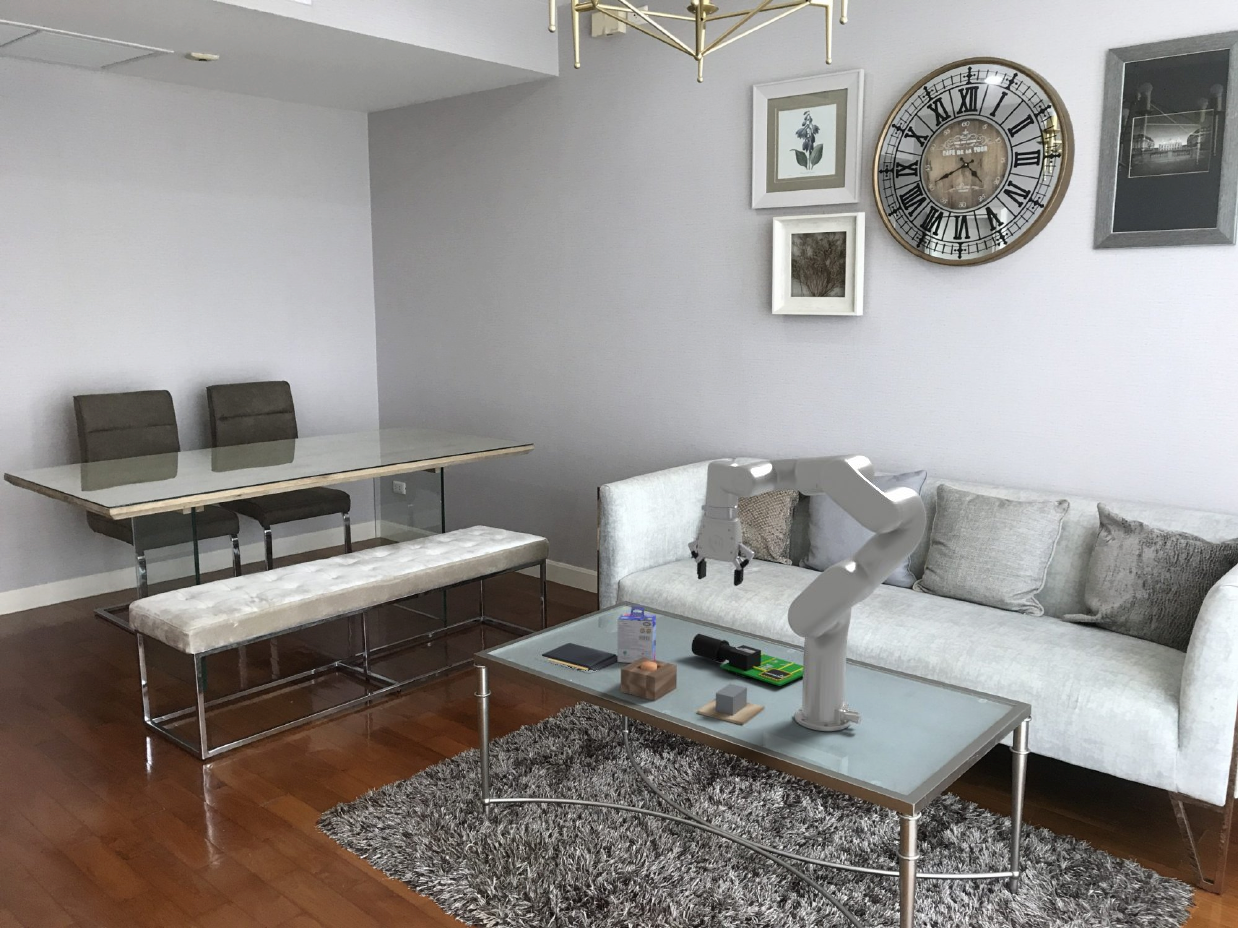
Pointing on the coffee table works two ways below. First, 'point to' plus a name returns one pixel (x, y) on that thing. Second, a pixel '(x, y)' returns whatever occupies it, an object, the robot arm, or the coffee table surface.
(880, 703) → the coffee table surface
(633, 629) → the ink cartridge box
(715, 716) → the oak board
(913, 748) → the coffee table surface
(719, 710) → the gray rectangular block
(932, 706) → the coffee table surface
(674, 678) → the walnut housing
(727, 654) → the circuit board with cylinder
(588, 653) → the wallet
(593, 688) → the coffee table surface
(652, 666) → the orange ball
